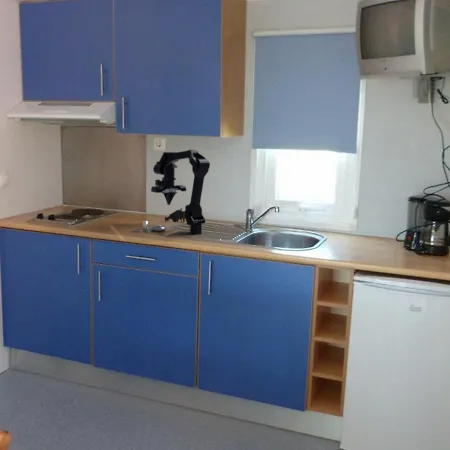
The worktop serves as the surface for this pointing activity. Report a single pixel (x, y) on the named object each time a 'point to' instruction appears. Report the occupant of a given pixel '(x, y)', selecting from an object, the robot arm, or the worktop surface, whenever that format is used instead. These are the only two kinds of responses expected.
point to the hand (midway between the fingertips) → (168, 204)
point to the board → (165, 233)
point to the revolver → (176, 216)
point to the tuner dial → (153, 227)
